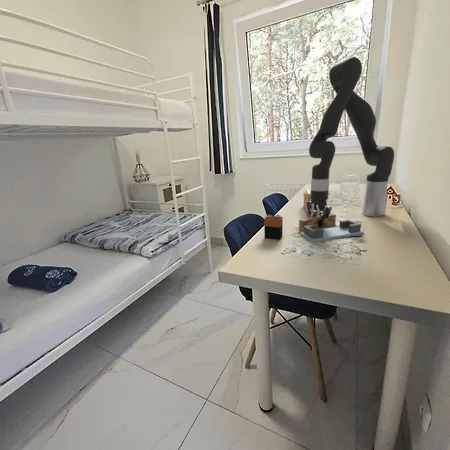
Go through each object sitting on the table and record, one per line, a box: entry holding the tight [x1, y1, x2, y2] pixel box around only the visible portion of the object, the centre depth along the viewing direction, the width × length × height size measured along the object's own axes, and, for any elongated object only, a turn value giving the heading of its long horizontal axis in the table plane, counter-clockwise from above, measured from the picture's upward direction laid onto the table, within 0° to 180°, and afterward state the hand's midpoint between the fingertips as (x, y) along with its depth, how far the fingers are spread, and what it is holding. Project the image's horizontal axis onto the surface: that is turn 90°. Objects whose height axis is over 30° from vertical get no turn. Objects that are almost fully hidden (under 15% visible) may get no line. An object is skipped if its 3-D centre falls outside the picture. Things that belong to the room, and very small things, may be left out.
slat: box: [298, 212, 337, 232], centre depth 116 cm, size 18×3×5 cm, turn 110°
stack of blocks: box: [303, 188, 319, 218], centre depth 139 cm, size 21×6×12 cm, turn 169°
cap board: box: [300, 219, 364, 243], centre depth 107 cm, size 24×9×4 cm, turn 103°
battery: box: [263, 214, 284, 241], centre depth 106 cm, size 4×7×10 cm, turn 62°
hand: (317, 225), depth 117 cm, fingers open, 3 cm apart
